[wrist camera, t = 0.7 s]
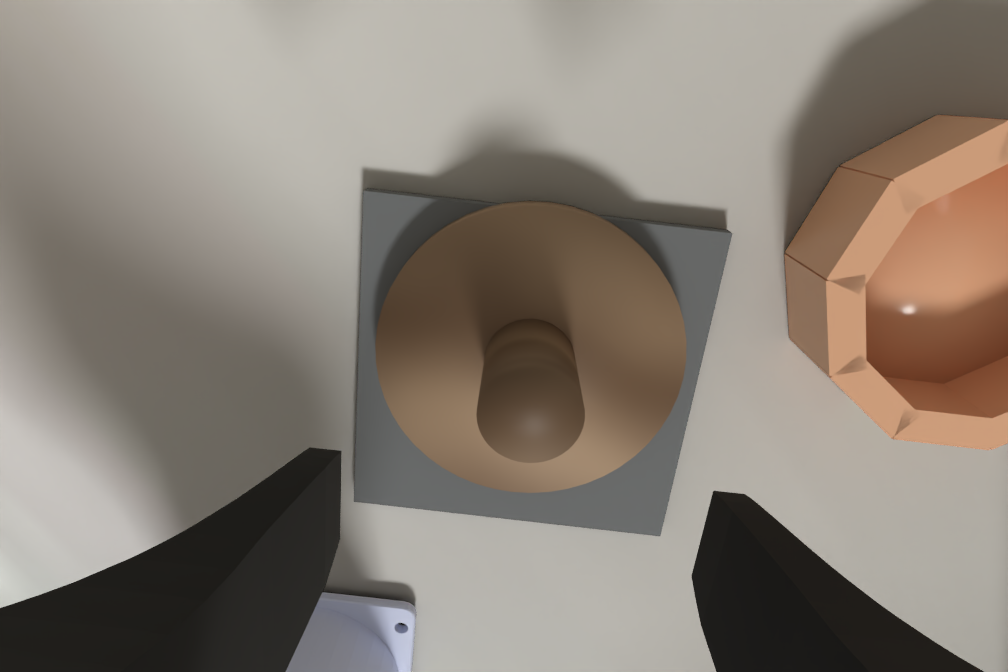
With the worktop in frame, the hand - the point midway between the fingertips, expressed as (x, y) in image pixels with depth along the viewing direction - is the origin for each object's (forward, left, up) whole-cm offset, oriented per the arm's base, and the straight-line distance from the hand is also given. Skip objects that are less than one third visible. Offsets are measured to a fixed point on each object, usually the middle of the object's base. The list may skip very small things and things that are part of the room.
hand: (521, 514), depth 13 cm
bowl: (+4, -12, -9) cm, 16 cm away
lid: (0, 0, -9) cm, 9 cm away
